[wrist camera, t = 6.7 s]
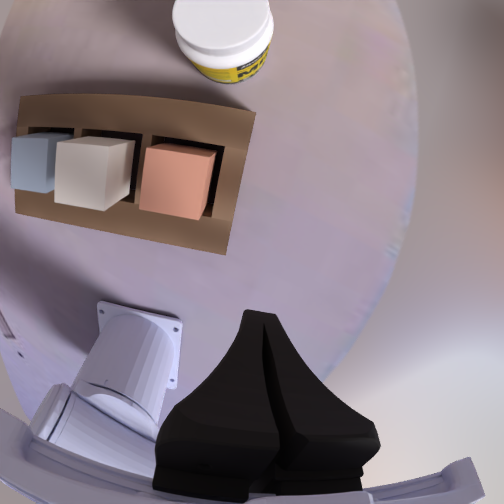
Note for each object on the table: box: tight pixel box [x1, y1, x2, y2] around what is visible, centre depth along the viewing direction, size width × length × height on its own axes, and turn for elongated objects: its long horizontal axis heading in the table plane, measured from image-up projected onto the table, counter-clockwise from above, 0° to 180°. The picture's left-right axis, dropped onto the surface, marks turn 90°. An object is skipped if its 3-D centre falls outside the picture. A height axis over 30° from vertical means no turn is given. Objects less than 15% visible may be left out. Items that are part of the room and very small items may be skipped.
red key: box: [139, 142, 217, 220], centre depth 17 cm, size 3×3×4 cm
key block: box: [15, 94, 256, 255], centre depth 18 cm, size 9×17×3 cm, turn 78°
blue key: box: [11, 132, 74, 193], centre depth 16 cm, size 3×3×4 cm
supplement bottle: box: [172, 0, 274, 84], centre depth 13 cm, size 5×5×8 cm
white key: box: [54, 136, 135, 211], centre depth 15 cm, size 3×3×4 cm
